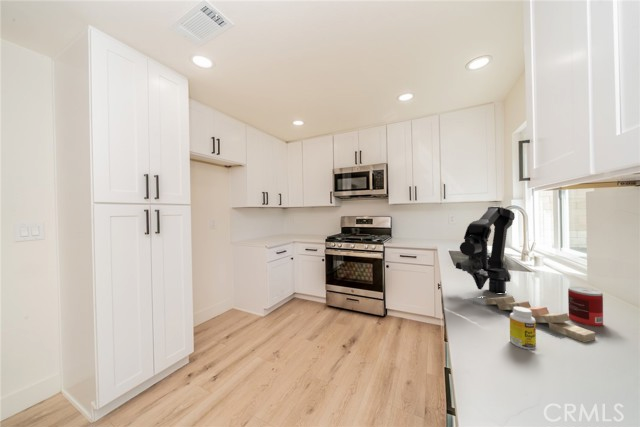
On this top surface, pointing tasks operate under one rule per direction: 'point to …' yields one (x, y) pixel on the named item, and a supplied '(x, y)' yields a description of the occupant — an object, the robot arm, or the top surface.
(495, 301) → the domino
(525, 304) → the domino
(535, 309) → the domino
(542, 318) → the domino
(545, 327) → the mat
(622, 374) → the top surface
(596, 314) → the canned food
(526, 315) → the supplement bottle
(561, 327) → the wooden block
